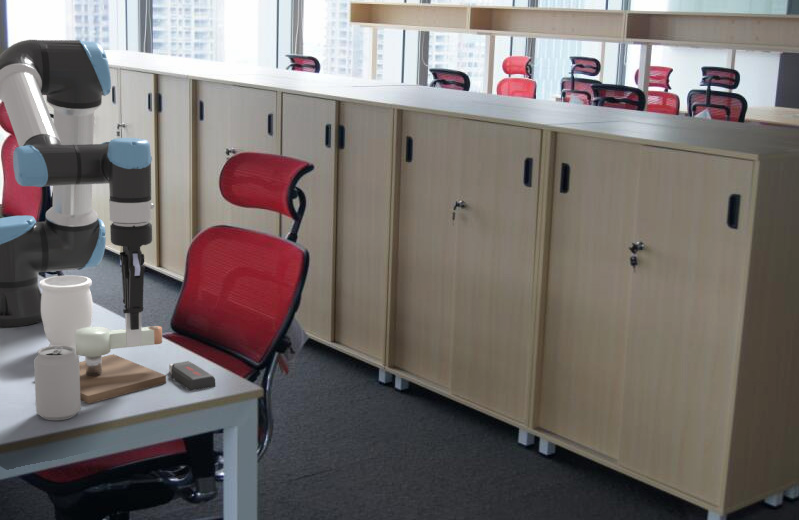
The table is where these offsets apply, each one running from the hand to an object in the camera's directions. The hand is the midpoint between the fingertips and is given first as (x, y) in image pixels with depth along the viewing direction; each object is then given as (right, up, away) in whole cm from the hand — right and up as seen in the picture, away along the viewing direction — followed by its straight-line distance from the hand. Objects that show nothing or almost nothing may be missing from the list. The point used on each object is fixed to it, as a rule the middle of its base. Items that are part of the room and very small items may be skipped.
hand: (133, 344), depth 200 cm
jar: (-19, -3, +22) cm, 29 cm away
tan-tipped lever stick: (-4, -1, +4) cm, 6 cm away
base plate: (-7, -7, +3) cm, 11 cm away
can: (-10, -11, -14) cm, 21 cm away
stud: (-8, -6, +3) cm, 11 cm away
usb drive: (+9, -8, +6) cm, 14 cm away
